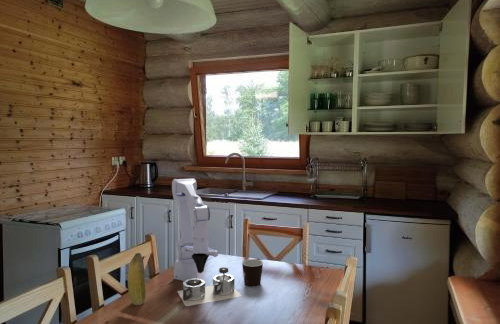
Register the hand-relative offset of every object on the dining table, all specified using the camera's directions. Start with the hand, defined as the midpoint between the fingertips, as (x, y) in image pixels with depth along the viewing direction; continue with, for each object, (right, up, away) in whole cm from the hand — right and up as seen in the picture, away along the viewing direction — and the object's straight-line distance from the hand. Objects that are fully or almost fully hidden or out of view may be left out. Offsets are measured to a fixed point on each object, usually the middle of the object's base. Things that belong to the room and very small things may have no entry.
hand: (200, 272), depth 146 cm
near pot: (-3, -9, -1) cm, 10 cm away
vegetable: (-23, -11, -6) cm, 26 cm away
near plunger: (-2, -8, 0) cm, 8 cm away
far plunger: (+9, -4, +4) cm, 10 cm away
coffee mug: (+20, -9, +13) cm, 26 cm away
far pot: (+8, -9, +4) cm, 13 cm away
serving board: (+3, -10, +2) cm, 11 cm away
